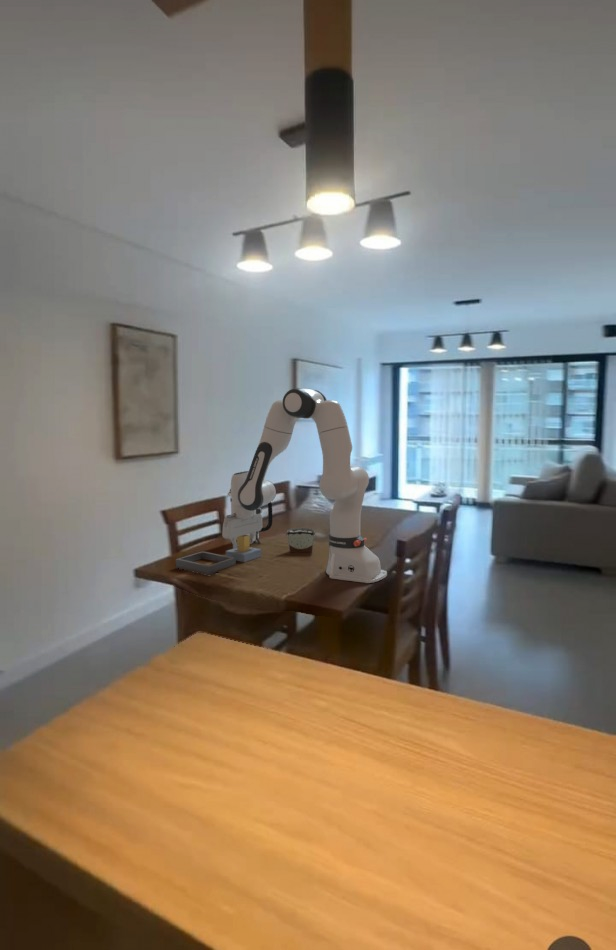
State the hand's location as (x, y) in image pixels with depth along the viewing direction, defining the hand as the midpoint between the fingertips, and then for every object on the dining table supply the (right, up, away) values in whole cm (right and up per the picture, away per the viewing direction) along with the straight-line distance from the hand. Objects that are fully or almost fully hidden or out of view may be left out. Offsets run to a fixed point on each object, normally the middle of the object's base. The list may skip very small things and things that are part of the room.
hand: (243, 545), depth 220 cm
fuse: (0, -5, 0) cm, 5 cm away
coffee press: (-1, -3, +28) cm, 28 cm away
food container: (+23, -5, +11) cm, 26 cm away
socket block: (0, -6, +1) cm, 6 cm away
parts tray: (-13, -7, -9) cm, 18 cm away
